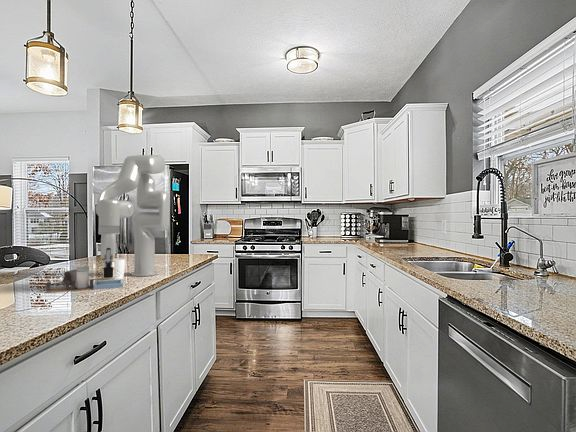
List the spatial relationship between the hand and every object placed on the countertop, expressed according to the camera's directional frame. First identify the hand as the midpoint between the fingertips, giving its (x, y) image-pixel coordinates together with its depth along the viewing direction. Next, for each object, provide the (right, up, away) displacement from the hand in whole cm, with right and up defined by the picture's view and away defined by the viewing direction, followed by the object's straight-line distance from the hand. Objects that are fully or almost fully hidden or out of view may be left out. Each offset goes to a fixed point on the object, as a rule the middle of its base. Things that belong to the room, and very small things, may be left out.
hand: (108, 276), depth 136 cm
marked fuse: (0, -1, 0) cm, 1 cm away
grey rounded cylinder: (-8, -4, -4) cm, 10 cm away
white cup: (-6, -6, +18) cm, 20 cm away
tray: (0, -6, 0) cm, 6 cm away
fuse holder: (-12, -5, -5) cm, 14 cm away
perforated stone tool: (-19, -6, +9) cm, 21 cm away
